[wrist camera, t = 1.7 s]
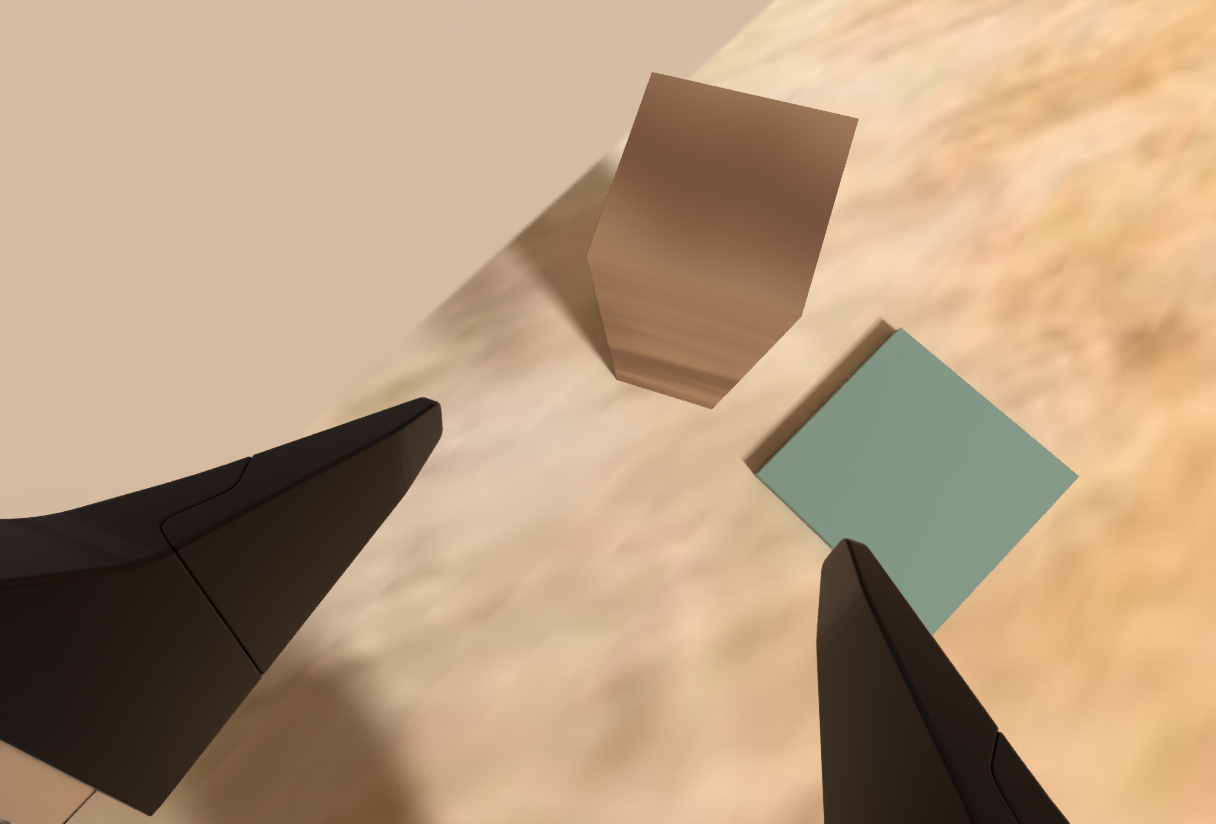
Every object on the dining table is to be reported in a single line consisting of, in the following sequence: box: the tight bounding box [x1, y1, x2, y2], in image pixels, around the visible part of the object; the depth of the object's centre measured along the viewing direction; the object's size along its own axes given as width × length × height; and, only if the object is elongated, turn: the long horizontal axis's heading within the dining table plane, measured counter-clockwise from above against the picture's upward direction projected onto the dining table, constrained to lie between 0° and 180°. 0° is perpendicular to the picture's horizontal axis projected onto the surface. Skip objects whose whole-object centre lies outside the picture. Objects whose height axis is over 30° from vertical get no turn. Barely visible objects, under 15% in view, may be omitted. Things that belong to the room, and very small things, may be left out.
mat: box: [754, 328, 1079, 635], centre depth 21 cm, size 10×10×1 cm
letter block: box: [586, 72, 858, 409], centre depth 17 cm, size 5×5×13 cm
